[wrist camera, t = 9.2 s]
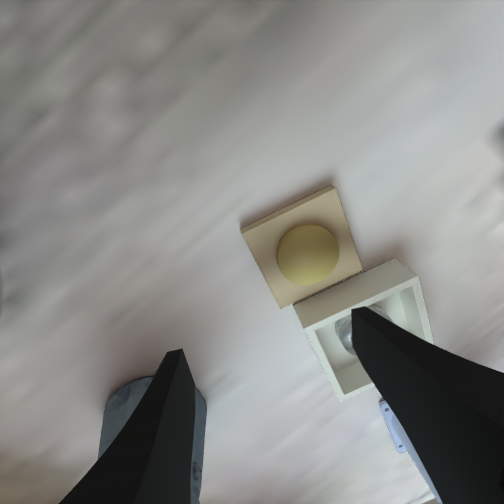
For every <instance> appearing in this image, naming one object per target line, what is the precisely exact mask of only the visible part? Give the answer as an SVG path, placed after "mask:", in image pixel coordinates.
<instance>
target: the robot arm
mask: <svg viewBox="0 0 504 504" xmlns="http://www.w3.org/2000/svg"><path fill="white" fill-rule="evenodd" d="M351 321H352V347H353V349H354V351H355V353H356V355H357V357H358V359H359V361H360V362H361V364H362V366H363V368H364V370H365V371H366V373H367V374H368V376H369V377H370V379H371V380H372V382H373V383H374V385H375V386H376V388H377V389H378V391H379V392H380V394H381V395H382V397H383V398H384V401H382V402H381V403H380V405H379V406H380V408H381V411H382V413H383V416H384V418H385V421H386V424H387V426H388V429H389V431H390V434H391V436H392V439H393V441H394V444H395V446H396V449H397V451H398V452H399V453H404V452H408V453H409V455H410V457H411V458H412V460H413V461H414V463H415V465H416V466H417V468H418V470H419V471H420V473H421V475H422V476H423V478H424V480H425V481H426V483H427V484H428V486H429V488H430V489H431V491H432V493H433V494H434V496H435V498H436V499H437V501H438V502H439V504H504V373H502V372H499V371H496V370H494V369H491V368H488V367H485V366H482V365H480V364H477V363H474V362H472V361H469V360H467V359H464V358H462V357H460V356H457V355H455V354H453V353H450V352H448V351H446V350H444V349H441V348H439V347H437V346H435V345H433V344H431V343H429V342H427V341H425V340H423V339H421V338H419V337H417V336H416V335H414V334H412V333H410V332H408V331H406V330H405V329H403V328H401V327H399V326H398V325H396V324H394V323H393V322H391V321H389V320H388V319H386V318H384V317H383V316H381V315H379V314H378V313H376V312H374V311H373V310H371V309H369V308H367V307H366V306H363V307H359V308H354V309H351ZM195 412H196V403H195V384H194V381H193V378H192V375H191V372H190V369H189V366H188V363H187V361H186V358H185V355H184V352H183V349H178V350H174V351H169V352H167V353H166V355H165V357H164V359H163V361H162V363H161V364H160V366H159V368H158V370H157V372H156V374H155V376H154V378H153V379H152V381H151V383H150V385H149V386H148V388H147V390H146V392H145V393H144V395H143V397H142V399H141V400H140V402H139V403H138V405H137V407H136V408H135V410H134V411H133V413H132V414H131V416H130V417H129V419H128V421H127V422H126V423H125V425H124V426H123V428H122V429H121V431H120V432H119V433H118V435H117V436H116V438H115V439H114V440H113V442H112V443H111V444H110V446H109V447H108V448H107V449H106V451H105V452H104V453H103V454H102V456H101V457H100V458H99V459H98V460H97V462H96V463H95V464H94V465H93V466H92V468H91V469H90V470H89V471H88V472H87V474H86V475H85V476H84V477H83V478H82V479H81V480H80V482H79V483H78V484H77V485H76V486H75V487H74V488H73V489H72V490H71V491H70V492H69V493H68V495H67V496H66V497H65V498H64V499H63V500H62V501H61V502H60V503H59V504H191V485H190V482H191V463H192V451H193V438H194V425H195Z"/></svg>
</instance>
